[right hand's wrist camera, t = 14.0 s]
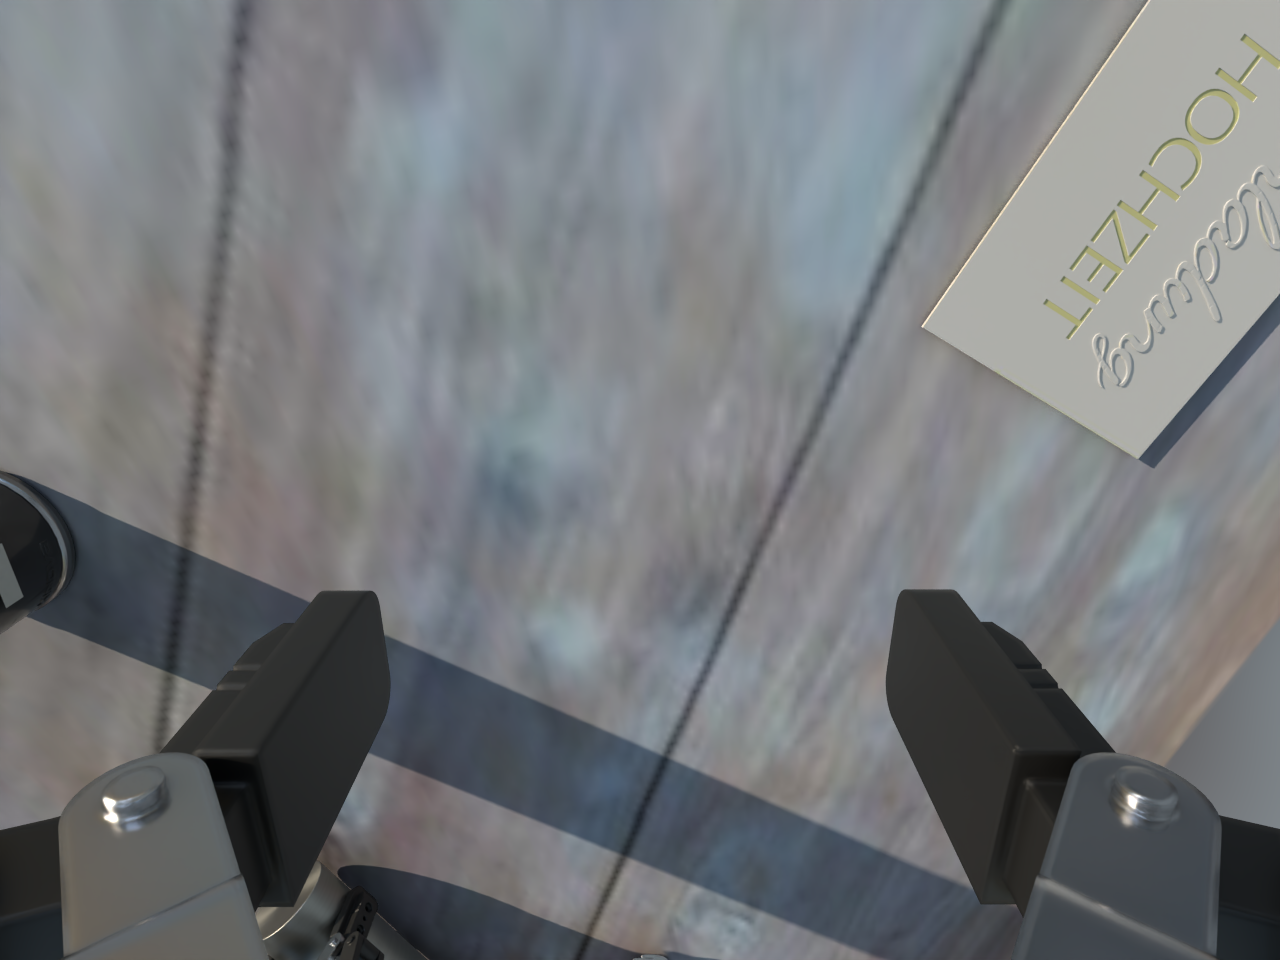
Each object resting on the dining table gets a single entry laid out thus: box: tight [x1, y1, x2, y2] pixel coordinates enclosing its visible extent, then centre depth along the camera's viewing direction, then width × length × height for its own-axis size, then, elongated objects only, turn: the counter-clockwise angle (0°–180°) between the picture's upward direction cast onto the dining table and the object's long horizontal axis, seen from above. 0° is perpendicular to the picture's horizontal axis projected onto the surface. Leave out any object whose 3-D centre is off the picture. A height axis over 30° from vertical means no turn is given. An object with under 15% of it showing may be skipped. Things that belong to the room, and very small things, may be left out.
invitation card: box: [922, 0, 1280, 459], centre depth 37 cm, size 21×1×15 cm
